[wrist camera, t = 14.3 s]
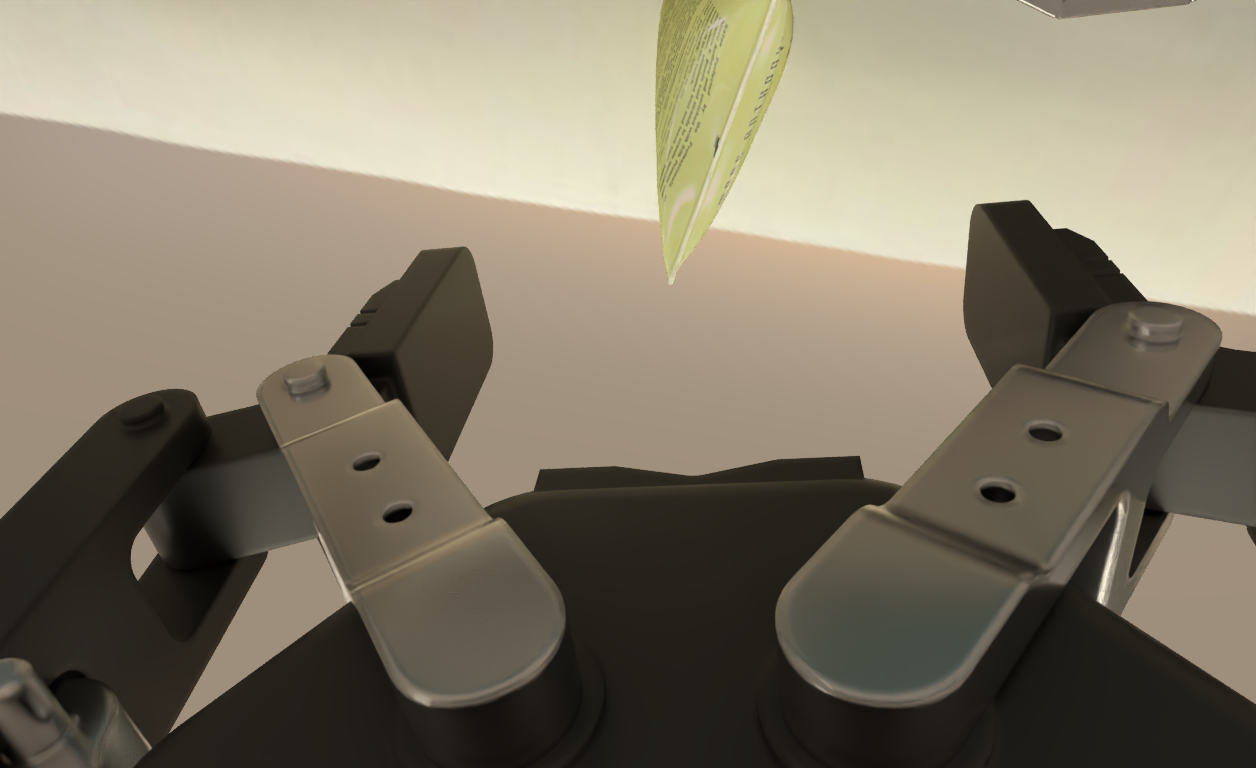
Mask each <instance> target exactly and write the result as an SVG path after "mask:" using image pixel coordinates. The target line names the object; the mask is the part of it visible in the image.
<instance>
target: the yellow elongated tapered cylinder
mask: <svg viewBox="0 0 1256 768" xmlns="http://www.w3.org/2000/svg"><path fill="white" fill-rule="evenodd" d="M792 36H793V11H792V5H791V0H663V4H662V9H661V15H660V23H659V32H658V46H657V61H656V155H657V189H658V203H659V216H660V227H661V239H662V246H663V253H664V260H665V264H666V269H667V273H668V282H669V284H670V285H671V284H673V282H674V279H675V277H676V274H677V270H678V268H679V267H680V266H681V265H682V264H683V262H684V261H685V260H686V259H687V258H688V256H689V255H690V253H691V252H692V251H693V249H694V248H695V246H696V245H697V244H698V242H699V241H700V239H701V238H702V237H703V235H704V234H705V232H706V231H707V229H708V228H709V226H710V225H711V223H712V221H713V220H714V218H715V216H716V215H717V213H718V211H719V209H720V208H721V206H722V204H723V202H724V200H725V198H726V196H727V195H728V193H729V191H730V189H731V187H732V185H733V183H734V181H735V178H736V176H737V174H738V172H739V170H740V168H741V166H742V164H743V162H744V160H745V158H746V155H747V153H748V151H749V149H750V146H751V144H752V142H753V139H754V137H755V135H756V133H757V131H758V128H759V126H760V124H761V122H762V120H763V117H764V115H765V113H766V111H767V108H768V106H769V104H770V102H771V99H772V97H773V95H774V92H775V90H776V88H777V85H778V83H779V81H780V78H781V76H782V73H783V71H784V68H785V65H786V62H787V59H788V55H789V52H790V47H791V42H792Z"/></svg>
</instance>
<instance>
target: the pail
mask: <svg viewBox="0 0 1256 768" xmlns="http://www.w3.org/2000/svg"><path fill="white" fill-rule="evenodd" d="M1018 1H1020V2H1022V3H1024V4H1026V5H1028V6H1030V7H1032V8H1034V9H1036V10H1038V11H1040V12H1042V13H1044V14H1046V15H1048V16H1050V17H1052V18H1058V19H1066V18H1074V17H1083V16H1092V15H1100V14H1109V13H1118V12H1126V11H1135V10H1144V9H1152V8H1161V7H1170V6H1178V5H1187V4H1189V3H1190V2H1195V1H1196V0H1018Z"/></svg>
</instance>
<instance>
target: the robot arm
mask: <svg viewBox="0 0 1256 768" xmlns="http://www.w3.org/2000/svg"><path fill="white" fill-rule="evenodd" d="M963 303H964V304H963V311H964V323H965V329H966V333H967V336H968V339H969V341H970V343H971V345H972V347H973V349H974V351H975V353H976V356H977V358H978V360H979V362H980V364H981V366H982V368H983V370H984V372H985V375H986V377H987V379H988V381H989V383H990V385H991V387H992V390H991V391H990V392H989V393H988V394H987V395H986V396H985V397H984V398H983V399H982V400H981V401H980V403H979V404H978V405H977V406H976V407H975V408H974V409H973V410H972V411H971V412H970V413H969V414H968V416H967V417H966V418H965V419H964V420H963V421H962V422H961V423H960V424H959V425H958V427H956V429H955V430H954V431H953V432H952V433H951V434H950V435H949V436H948V437H947V438H946V439H945V440H944V442H943V443H942V444H941V445H940V446H939V447H938V448H937V449H936V450H935V451H934V452H933V454H932V455H931V456H930V457H929V458H928V459H927V460H926V461H925V462H924V463H923V465H921V466H920V468H919V469H918V470H917V471H916V472H915V473H914V474H913V475H912V476H911V477H910V478H909V479H908V481H907V482H906V483H905V484H904V485H903V486H900V485H897V484H893V483H888V482H884V481H879V480H874V479H867V478H864V474H863V470H862V465H861V460H860V456H848V457H824V458H800V459H778V460H772V461H768V462H763V463H758V464H753V465H748V466H744V467H739V468H734V469H729V470H724V471H719V472H715V473H710V474H705V475H699V476H686V475H678V474H670V473H662V472H655V471H647V470H640V469H632V468H624V467H617V466H611V467H588V468H564V469H543V470H542V469H541V470H540V471H539V475H538V478H537V482H536V485H535V488H534V491H532V492H527V493H523V494H520V495H517V496H513V497H510V498H507V499H504V500H502V501H499V502H496V503H494V504H492V505H490V506H487V507H485V508H483V507H482V506H481V505H480V503H479V502H478V501H477V500H476V498H475V497H474V496H473V494H472V493H471V492H470V490H469V489H468V488H467V486H466V485H465V484H464V483H463V481H462V480H461V479H460V478H459V476H458V475H457V473H456V472H455V471H454V470H453V468H452V467H451V466H450V464H449V463H448V461H449V458H450V456H451V454H452V452H453V449H454V447H455V445H456V443H457V440H458V438H459V436H460V434H461V431H462V429H463V427H464V424H465V422H466V420H467V418H468V416H469V413H470V411H471V409H472V407H473V405H474V402H475V400H476V398H477V395H478V393H479V391H480V389H481V387H482V384H483V382H484V380H485V378H486V375H487V373H488V371H489V369H490V366H491V362H492V357H493V339H492V332H491V327H490V323H489V319H488V315H487V311H486V307H485V303H484V299H483V295H482V291H481V287H480V282H479V278H478V274H477V270H476V266H475V262H474V259H473V256H472V254H471V252H470V251H469V249H468V248H466V247H454V248H442V249H431V250H422V251H421V252H420V253H419V254H418V256H417V257H416V258H415V260H414V261H413V262H412V264H411V265H410V266H409V268H408V269H407V270H406V272H405V273H404V275H403V276H402V277H401V279H400V280H395V281H393V282H392V283H390V284H389V285H387V286H386V287H384V288H383V289H381V290H380V291H378V292H377V293H375V294H374V295H372V297H371V298H370V299H369V301H368V302H367V303H366V304H365V306H364V307H363V308H362V309H361V311H360V313H361V314H358V315H357V316H356V317H355V318H354V320H353V321H352V322H351V324H350V325H351V327H348V328H347V329H346V330H345V332H344V333H343V334H342V335H341V337H340V338H339V339H338V341H337V342H336V343H335V345H334V346H333V347H332V348H331V350H330V351H329V352H328V354H327V355H319V356H313V357H310V358H305V359H302V360H299V361H296V362H293V363H291V364H288V365H286V366H284V367H282V368H280V369H279V370H277V371H275V372H274V373H272V374H271V375H269V376H268V377H267V378H266V379H265V380H264V381H263V382H262V383H261V384H260V385H259V387H258V389H257V392H256V397H257V400H258V402H259V404H258V405H254V406H251V407H246V408H243V409H238V410H234V411H229V412H226V413H221V414H217V415H213V416H208V417H206V415H205V413H204V411H203V409H202V407H201V405H200V403H199V401H198V398H197V396H196V395H195V394H194V393H193V392H191V391H188V390H184V389H168V390H161V391H156V392H152V393H148V394H145V395H142V396H139V397H136V398H134V399H131V400H129V401H127V402H125V403H123V404H121V405H119V406H117V407H115V408H114V409H112V410H110V411H109V412H108V413H106V414H105V415H103V416H102V417H101V418H100V419H99V420H98V421H97V422H96V423H95V424H94V425H93V426H92V427H91V428H90V429H89V430H88V431H87V432H86V433H85V434H84V435H83V436H82V437H81V438H80V439H79V440H78V441H77V442H76V443H75V444H74V445H73V446H72V447H71V448H70V449H69V450H68V451H67V452H66V453H65V454H64V455H63V456H62V457H61V458H60V459H59V460H58V461H57V462H56V463H55V464H54V465H53V466H52V467H51V468H50V469H49V471H47V472H46V473H45V474H44V476H42V478H41V479H40V480H39V481H38V482H37V483H36V484H35V485H34V486H33V487H32V488H31V489H30V490H29V491H28V492H27V493H26V494H25V495H24V496H23V497H22V498H21V499H20V500H19V501H18V502H17V503H16V504H15V505H14V506H13V507H12V508H11V509H10V510H9V511H8V512H7V513H6V514H5V515H4V516H3V517H2V518H1V519H0V768H1256V704H1254V703H1253V702H1251V701H1250V700H1248V699H1247V698H1245V697H1244V696H1242V695H1240V694H1239V693H1238V692H1236V691H1234V690H1233V689H1231V688H1230V687H1228V686H1226V685H1225V684H1224V683H1222V682H1221V681H1219V680H1218V679H1216V678H1214V677H1213V676H1211V675H1210V674H1208V673H1207V672H1205V671H1204V670H1202V669H1201V668H1199V667H1197V666H1196V665H1194V664H1193V663H1191V662H1190V661H1188V660H1186V659H1185V658H1184V657H1182V656H1180V655H1179V654H1177V653H1176V652H1174V651H1173V650H1171V649H1169V648H1168V647H1167V646H1165V645H1164V644H1162V643H1160V642H1159V641H1157V640H1156V639H1154V638H1153V637H1151V636H1150V635H1148V634H1147V633H1145V632H1143V631H1142V630H1141V629H1139V628H1137V627H1136V626H1134V625H1133V624H1131V623H1129V622H1128V621H1127V620H1125V619H1124V618H1122V617H1121V614H1122V612H1123V610H1124V608H1125V606H1126V604H1127V602H1128V600H1129V599H1130V597H1131V595H1132V593H1133V592H1134V590H1135V588H1136V586H1137V584H1138V583H1139V581H1140V579H1141V577H1142V575H1143V574H1144V572H1145V570H1146V568H1147V566H1148V565H1149V563H1150V561H1151V559H1152V557H1153V556H1154V554H1155V552H1156V550H1157V548H1158V547H1159V545H1160V543H1161V541H1162V539H1163V538H1164V536H1165V534H1166V532H1167V530H1168V529H1169V526H1170V525H1171V522H1172V520H1173V517H1174V513H1175V514H1181V515H1187V516H1193V517H1200V518H1205V519H1211V520H1217V521H1223V522H1229V523H1235V524H1241V525H1246V526H1247V531H1248V533H1249V535H1250V537H1251V539H1252V540H1253V542H1254V543H1255V545H1256V352H1250V351H1242V350H1234V349H1229V348H1223V347H1220V344H1221V341H1222V332H1221V330H1220V328H1219V327H1218V325H1217V324H1216V323H1215V322H1213V321H1212V320H1211V319H1209V318H1208V317H1206V316H1204V315H1202V314H1200V313H1198V312H1195V311H1193V310H1191V309H1187V308H1184V307H1181V306H1177V305H1172V304H1167V303H1161V302H1150V301H1147V300H1146V299H1145V297H1144V296H1143V295H1142V294H1141V293H1140V292H1139V291H1138V290H1137V289H1136V287H1135V286H1134V285H1133V284H1132V283H1131V282H1130V281H1129V280H1128V278H1127V277H1126V276H1125V275H1124V274H1123V273H1122V274H1120V270H1119V268H1118V267H1117V266H1116V265H1115V264H1114V263H1113V262H1112V261H1111V260H1108V256H1107V255H1106V254H1105V253H1104V252H1103V251H1102V249H1101V248H1100V247H1099V246H1098V245H1097V244H1096V243H1095V242H1094V241H1093V240H1091V239H1088V238H1086V237H1084V236H1082V235H1080V234H1078V233H1076V232H1073V231H1071V230H1069V229H1067V228H1063V229H1052V227H1051V226H1050V225H1049V224H1048V223H1047V221H1046V220H1045V219H1044V218H1043V216H1042V215H1041V214H1040V213H1039V212H1038V210H1037V209H1036V208H1035V207H1034V205H1033V204H1032V203H1031V202H1030V201H1029V200H1021V201H1009V202H997V203H985V204H977V205H975V207H974V208H973V211H972V215H971V220H970V230H969V241H968V253H967V264H966V277H965V287H964V301H963ZM143 527H144V528H145V530H146V532H147V534H148V535H149V537H150V539H151V541H152V542H153V544H154V546H155V548H156V550H157V551H158V554H157V555H156V557H155V558H154V559H153V561H152V562H151V564H150V565H149V566H148V568H147V569H146V571H145V572H144V574H143V575H142V576H141V578H140V579H139V580H138V581H137V579H136V578H135V576H134V574H133V571H132V567H131V549H132V545H133V542H134V539H135V537H136V536H137V534H138V533H139V531H140V530H141V529H142V528H143ZM314 538H317V539H318V542H319V544H320V546H321V549H322V551H323V553H324V555H325V557H326V560H327V562H328V564H329V566H330V568H331V571H332V572H333V575H334V577H335V579H336V582H337V584H338V586H339V588H340V590H341V592H342V595H343V597H344V599H345V601H346V603H347V604H346V605H345V606H343V607H342V608H340V609H339V610H338V611H336V612H335V613H334V614H332V615H331V616H329V617H328V618H327V619H325V620H324V621H322V622H321V623H320V624H318V625H317V626H316V627H314V628H313V629H312V630H310V631H309V632H307V633H306V634H305V635H303V636H302V637H301V638H299V639H298V640H297V641H295V642H294V643H292V644H291V645H290V646H288V647H287V648H286V649H284V650H283V651H281V652H280V653H279V654H277V655H276V656H274V657H273V658H272V659H270V660H269V661H268V662H266V663H265V664H263V665H262V666H261V667H259V668H258V669H257V670H255V671H254V672H252V673H251V674H250V675H248V676H247V677H246V678H244V679H243V680H241V681H240V682H239V683H237V684H236V685H235V686H233V687H232V688H231V689H229V690H228V691H226V692H225V693H224V694H222V695H221V696H219V697H218V698H217V699H215V700H214V701H213V702H212V703H210V704H208V705H207V706H206V707H205V708H203V709H202V710H200V711H199V712H197V713H196V714H195V715H193V716H192V717H191V718H189V719H188V720H187V721H185V722H184V723H182V724H181V725H180V726H178V727H177V728H176V729H174V730H173V731H172V732H171V733H169V732H170V730H171V728H172V727H173V725H174V723H175V721H176V720H177V718H178V716H179V714H180V712H181V710H182V708H183V707H184V705H185V703H186V702H187V700H188V698H189V696H190V694H191V692H192V691H193V689H194V687H195V686H196V684H197V682H198V680H199V678H200V677H201V675H202V673H203V671H204V669H205V668H206V666H207V664H208V662H209V660H210V659H211V657H212V655H213V653H214V652H215V650H216V648H217V646H218V644H219V643H220V641H221V639H222V637H223V635H224V634H225V632H226V630H227V628H228V626H229V624H230V623H231V621H232V619H233V617H234V616H235V614H236V612H237V610H238V608H239V607H240V605H241V603H242V601H243V600H244V598H245V596H246V594H247V592H248V591H249V589H250V587H251V585H252V583H253V582H254V580H255V578H256V576H257V574H258V573H259V571H260V569H261V567H262V566H263V564H264V562H265V560H266V558H267V554H268V551H269V550H272V549H276V548H280V547H284V546H288V545H291V544H296V543H299V542H303V541H307V540H311V539H314Z"/></svg>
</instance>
